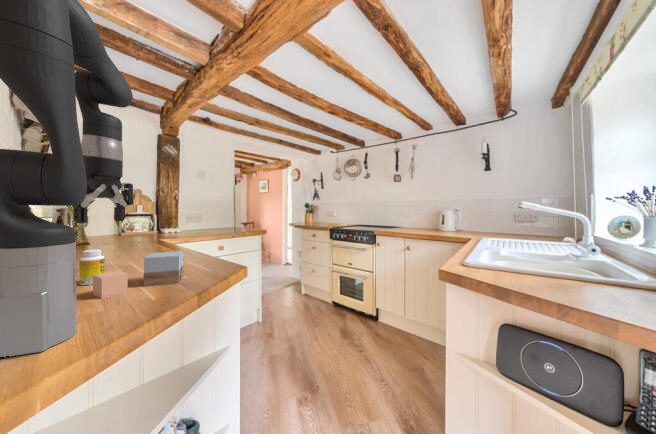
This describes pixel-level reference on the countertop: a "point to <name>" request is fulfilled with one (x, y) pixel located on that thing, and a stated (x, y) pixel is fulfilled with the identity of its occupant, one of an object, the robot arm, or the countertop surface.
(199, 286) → the countertop surface
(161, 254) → the upper block
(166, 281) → the lower block
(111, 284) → the terracotta cube
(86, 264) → the supplement bottle
